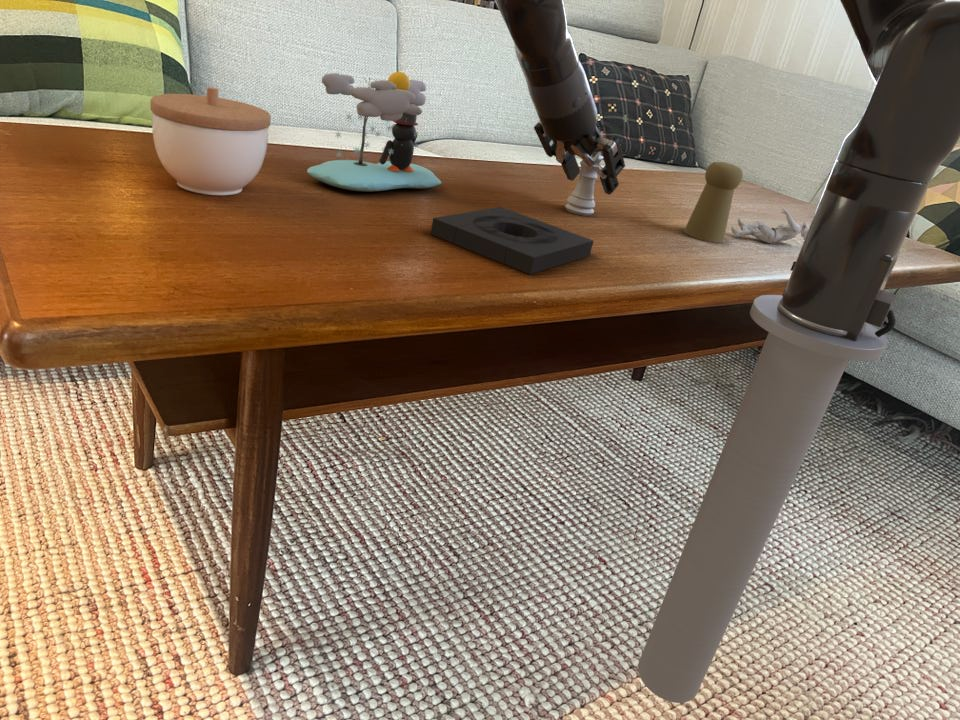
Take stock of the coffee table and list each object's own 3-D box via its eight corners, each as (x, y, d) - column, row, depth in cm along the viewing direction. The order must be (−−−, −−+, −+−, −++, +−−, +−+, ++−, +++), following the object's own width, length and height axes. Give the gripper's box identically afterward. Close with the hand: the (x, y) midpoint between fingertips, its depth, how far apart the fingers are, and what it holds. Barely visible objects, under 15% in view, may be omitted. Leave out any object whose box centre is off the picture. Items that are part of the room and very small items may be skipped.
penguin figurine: (408, 173, 111) (424, 68, 104) (455, 194, 104) (474, 83, 98) (292, 174, 97) (301, 53, 91) (336, 198, 91) (349, 70, 84)
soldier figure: (722, 235, 118) (788, 220, 120) (732, 262, 116) (799, 247, 118) (742, 212, 110) (813, 196, 112) (754, 240, 109) (825, 224, 111)
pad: (589, 256, 89) (594, 240, 88) (529, 275, 78) (533, 257, 77) (497, 221, 95) (500, 206, 95) (430, 234, 85) (432, 217, 84)
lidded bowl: (205, 208, 78) (207, 101, 73) (126, 176, 82) (123, 74, 78) (288, 195, 88) (295, 100, 83) (214, 168, 93) (216, 77, 88)
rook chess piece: (584, 217, 106) (598, 163, 103) (558, 208, 109) (571, 154, 105) (598, 214, 110) (612, 161, 106) (573, 206, 112) (586, 153, 109)
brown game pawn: (682, 235, 108) (706, 161, 104) (685, 226, 114) (707, 156, 109) (723, 245, 107) (749, 171, 102) (723, 237, 112) (748, 165, 108)
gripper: (622, 87, 92) (647, 178, 105) (539, 65, 100) (571, 152, 113) (586, 129, 91) (615, 216, 104) (505, 103, 99) (541, 187, 112)
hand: (592, 182), depth 108 cm, fingers open, 6 cm apart
